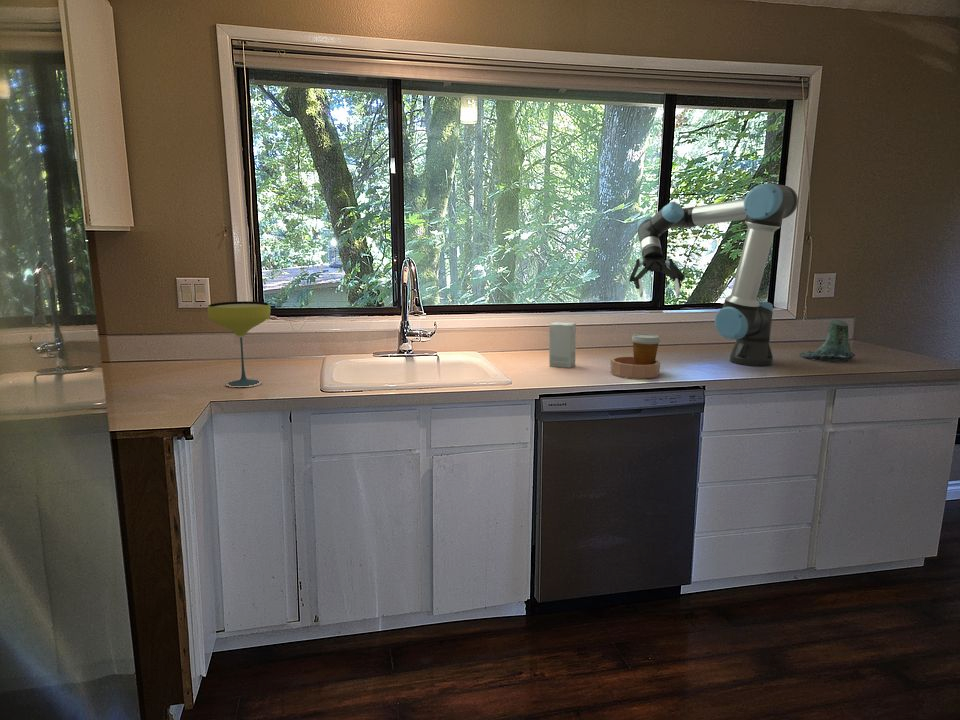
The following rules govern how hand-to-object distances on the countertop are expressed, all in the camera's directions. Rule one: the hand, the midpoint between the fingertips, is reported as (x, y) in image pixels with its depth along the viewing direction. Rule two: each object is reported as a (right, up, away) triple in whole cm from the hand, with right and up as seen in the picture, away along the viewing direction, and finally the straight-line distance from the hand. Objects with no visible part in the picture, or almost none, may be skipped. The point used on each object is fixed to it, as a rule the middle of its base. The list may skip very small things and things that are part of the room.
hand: (660, 294), depth 245 cm
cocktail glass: (-140, -32, -36) cm, 148 cm away
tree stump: (+70, -24, +16) cm, 75 cm away
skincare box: (-37, -26, -3) cm, 45 cm away
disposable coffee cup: (-10, -28, -14) cm, 33 cm away
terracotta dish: (-13, -29, -15) cm, 35 cm away
